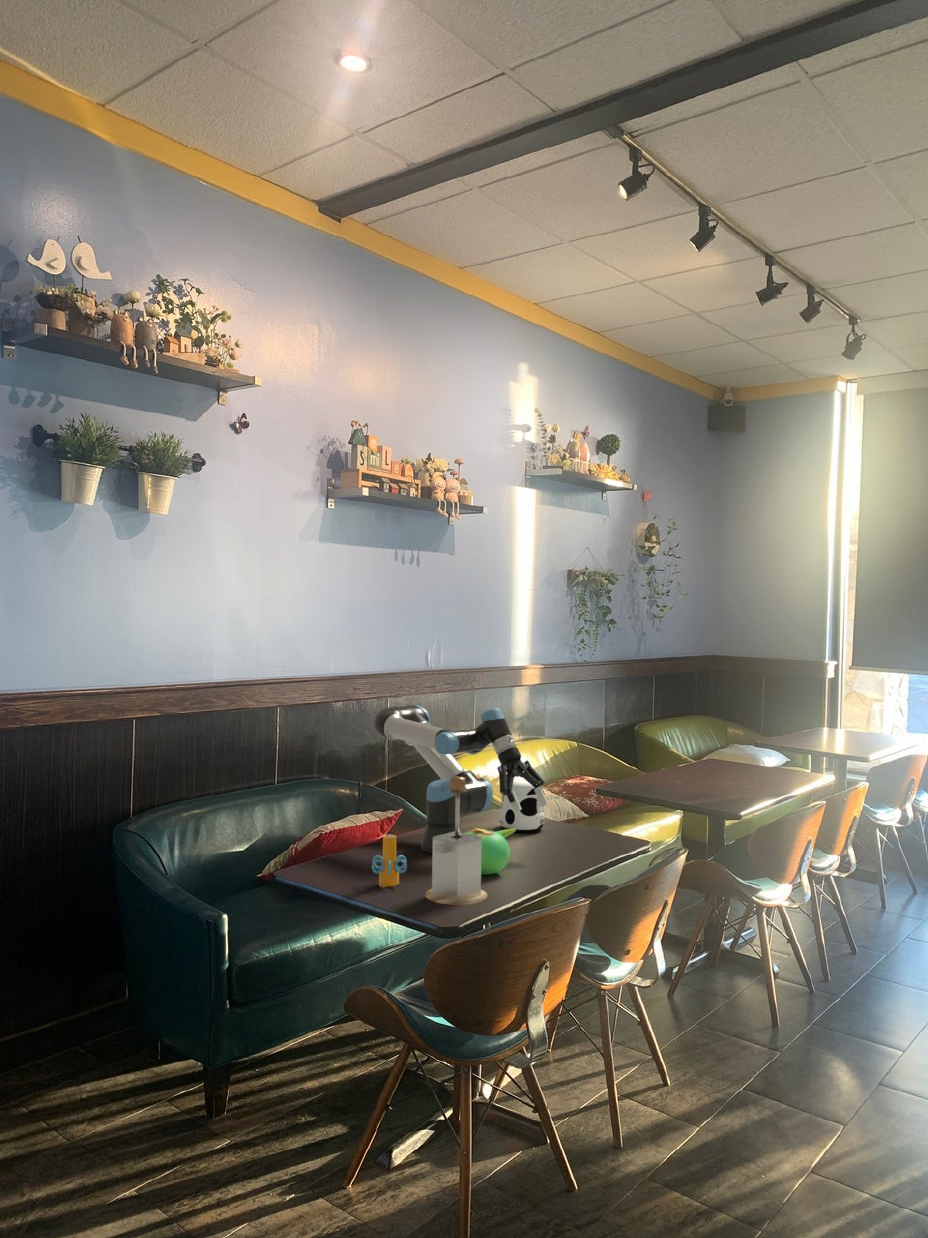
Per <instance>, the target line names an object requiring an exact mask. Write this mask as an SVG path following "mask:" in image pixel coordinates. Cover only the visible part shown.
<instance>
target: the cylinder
mask: <svg viewBox="0 0 928 1238" xmlns="http://www.w3.org/2000/svg"><path fill="white" fill-rule="evenodd" d="M371 861H372V865H371V869H372V871H373V873H375V874H378V886H379V887H380V888H382V889H383V888H387V887H394V886H398V885H399V884H400V874H403V873H405V872H406V871H407V868H408V864H407V861H408V860H407V857H406V856H405V855H403V854H400V855H397V834H389V833H388V834H384V835H382V855H380V854H376V855H374V856H373V857H372V859H371ZM377 863H381V865H380V866H378V865H377ZM398 863H402V865H401V866H399V865H398Z"/></svg>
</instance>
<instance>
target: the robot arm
mask: <svg viewBox="0 0 928 1238" xmlns="http://www.w3.org/2000/svg"><path fill="white" fill-rule="evenodd" d="M480 719H481V722H482V723H480V724H479V725H478V726H476V727H475V728H471V729H463V730H462V729H461V730H450V729H445V728H443V727H438V726H435V725H432V721H431V717H430V714H429V712H428V711H427V709H426V708H424V707H423V706H421V705H416V704H409V705H403V706H402V705H401V706H400V705H399V706H391V707H385V708H382V709H381V710H379V711H378V712H377V713H376V715H374V719H373V729H374V731H375V734H377V735H378V736H379V737H381V738H383V739H385V740H386V739H387V740H391V741H395V740H402V741H403V742H404V743H405V744H406V745H407V746H413V747H414V748H415V749H416V751H417V752H418V753H419V754H420V755H421V756H422V758H423V759H424V760H425V761H426V762H427V764H428V765H429V766H430V768H432V769H433V771H434V772H435V773H436V774H437V775H438V778H440V779H437V780H433V781H431V782H430V783H429V784H428V785H427V787H426V795H425V798H426V819H425V820H426V825H425V826H426V827H425V830H424V833H423V837H422V839H421V842H420V850H422V852H425V853H428V854H433V837H434V836H438V835H442V834H446V833H450V832H454V831H455V809H456V793H453V792H450V777H453V776H462V777H466V786H465V792H464V793H460V817H461V816H465V815H470V814H472V815H473V814H479V813H481V812H483V811H487V810H488V809H489V808H490V807H491V805H492V802H493V801H494V800H493V799H494V789H493V787H492V784H491V782H490V781H489V780H488V779H487V778H485V777H477V775H475V773H474V772H473V771H472V770H470V769H465V768H464V767H463V766H462V765H461V764H460V763H459V762H458V760H457V759H456V758H455V757H454V756H453V754H459V753H467V754H470V755H471V756H472V755H477V754H479V753H481V752H482V751H484V750H485V749H486V748H487V747H488V746H489V745H490V744H491V745H492V747H493V750H494V751H495V754H496V755H497V758H498V761H499V763H500V765H498V766H497V768H496V769H497V772H498V776H499V781H498V782H499V792H500V794H501V793H503V795H507V797H508V799H509V802H510V803H511V804H512V807H513V809H514V811H515V813H517V812H518V811H520V810H521V809H522V808H521V806H520V804H519V801H518V799H517V797H516V794H515V792H514V791H512V786H513V780H514V778H517V777H518V778H524V779H525V780H526V781H527V782H529V783H530V784H531V785H532V786H533V787H535V788H536V789H535V793H536V795H537V797H538V800H539V802H540V804H541V806H542V807H543V808H544V807H545V806H547V805H549V802H548V799H547V797H546V793H545V791H544V789H543V785H544V784H545V782H546V781H544V779H543V778H542V777H541V776H540V774H538V772H537V771H536V770H535V769H534V768H533V767H532V765H531V763H530V761H529V760H525V761H522V760H521V758H522V754H521V752H520V749H519V748H518V747H517V744H516V742H515V740H514V737H513V734H512V732H511V730H510V727H509V725H508V723H507V720H506V717H505V716H504V714H503V712H502V710H501V709H500V708H498V707H492V708H490V709H487V710H485V711H484V712H482V714H481V715H480ZM536 784H537V785H536ZM503 787H504V788H503ZM511 791H512V792H511ZM459 832H462V830H461V819H460V820H459Z"/></svg>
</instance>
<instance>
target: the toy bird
mask: <svg viewBox="0 0 928 1238" xmlns="http://www.w3.org/2000/svg"><path fill="white" fill-rule="evenodd" d="M515 832H516V829H503V830H502V829H501V830H497V831H494V830H493V829H492V830H491V829H486V828H480V827H478V826H475V827H474V828H473V829H470V830H467V831H465V832H464V833H467V834H471V835H475V836H480V837H482V844H481V876H485V875H486V876H487V875H488V876H489V875H494V874H496V873H499V872H500V871H502V870H503V869H505V867H506V866H507V864H508V862H509V860H510V857H511V850H510V844H509V842H508V841H507V839H506V838H507V837H509V836H510V835H512V834H513V833H515Z"/></svg>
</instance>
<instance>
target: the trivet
mask: <svg viewBox="0 0 928 1238" xmlns="http://www.w3.org/2000/svg"><path fill="white" fill-rule="evenodd" d="M424 895H425V897H426V898H427V900H430V901H432V902H433V903H438V904H443V905H450V906H453V905H454V906H463V905H464V906H465V905H466V906H467V905H472V904H473V905H474V904H478V903H480V902H483V901H484V900H487V898H488V893H487V892H486V891H485V890H483V889H481V895H478V896H475V897H472V898H469V899H466V900H463V901H460V902H454V901H451V900H448V899H444V898H441V897H438V896H435V895H432V888H431V889H428V890H427V891H426V892H425V894H424Z"/></svg>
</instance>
